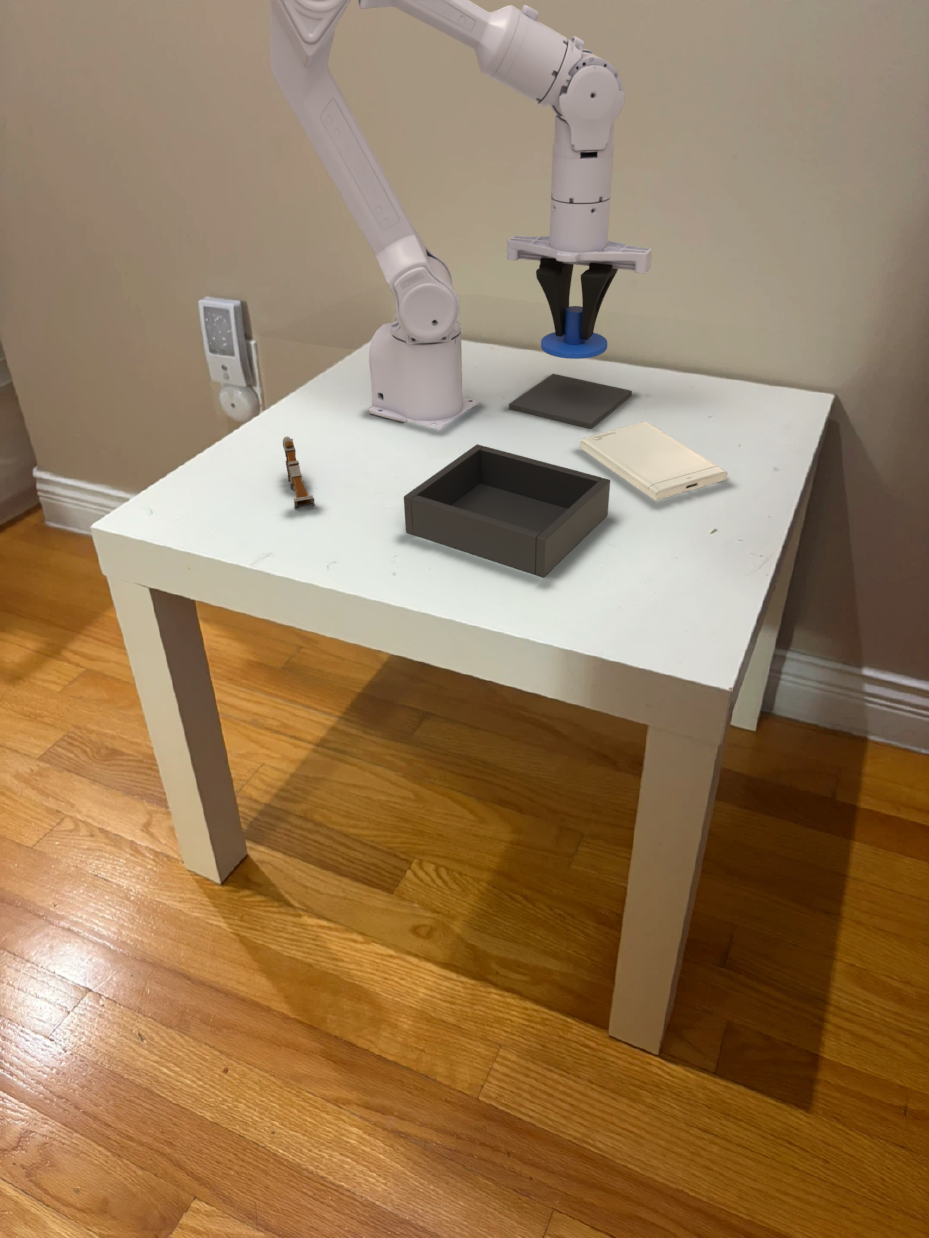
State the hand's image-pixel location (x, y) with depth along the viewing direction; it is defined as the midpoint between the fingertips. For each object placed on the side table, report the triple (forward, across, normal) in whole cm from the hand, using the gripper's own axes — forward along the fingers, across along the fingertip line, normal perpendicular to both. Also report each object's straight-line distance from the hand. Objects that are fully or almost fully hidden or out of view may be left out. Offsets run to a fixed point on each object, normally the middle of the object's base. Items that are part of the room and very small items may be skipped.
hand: (574, 335), depth 101 cm
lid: (+1, 0, 0) cm, 1 cm away
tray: (+8, +4, -28) cm, 29 cm away
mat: (+8, 0, 0) cm, 8 cm away
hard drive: (+8, +12, -12) cm, 19 cm away
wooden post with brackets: (+8, -17, -30) cm, 35 cm away
